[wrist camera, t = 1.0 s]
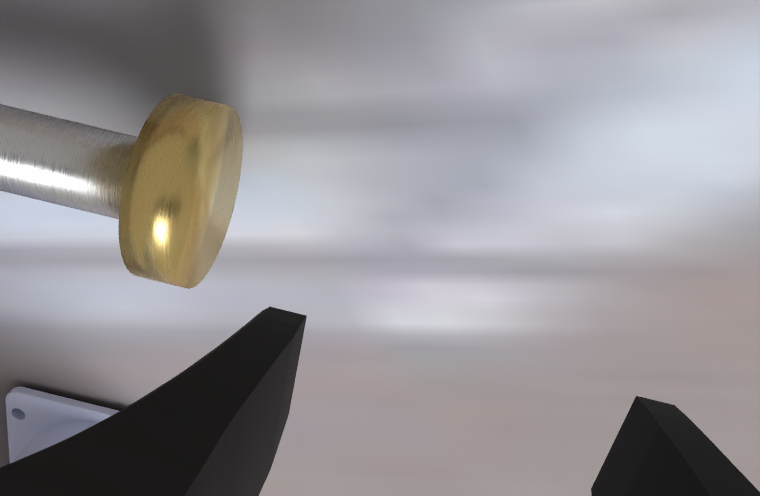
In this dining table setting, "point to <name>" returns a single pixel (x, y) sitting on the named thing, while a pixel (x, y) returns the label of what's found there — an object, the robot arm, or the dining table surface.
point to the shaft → (137, 179)
